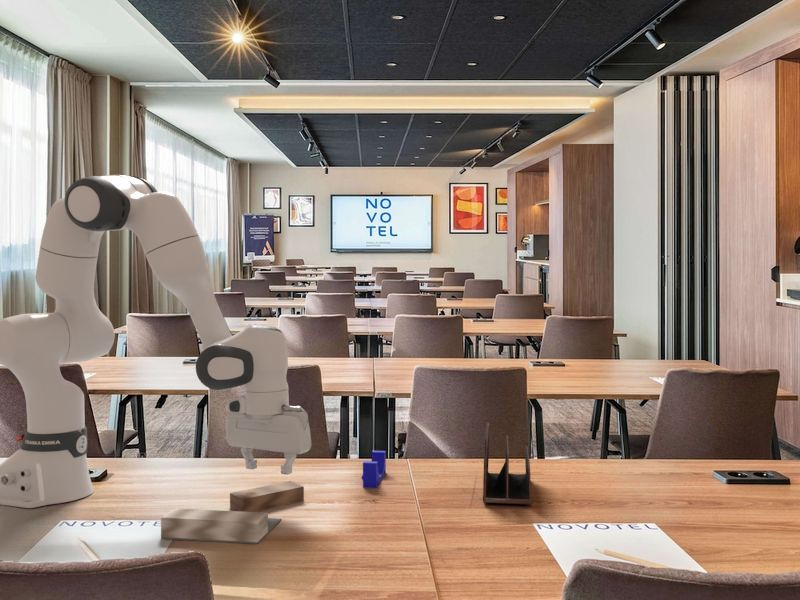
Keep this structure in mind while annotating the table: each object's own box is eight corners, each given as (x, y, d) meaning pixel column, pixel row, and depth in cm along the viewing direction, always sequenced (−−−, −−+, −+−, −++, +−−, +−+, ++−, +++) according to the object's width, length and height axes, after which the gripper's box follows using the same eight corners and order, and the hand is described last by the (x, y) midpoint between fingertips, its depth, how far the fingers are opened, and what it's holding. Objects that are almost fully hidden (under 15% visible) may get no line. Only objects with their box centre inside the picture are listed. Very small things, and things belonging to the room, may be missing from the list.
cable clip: (367, 475, 173) (366, 450, 173) (385, 476, 173) (385, 450, 172) (356, 489, 161) (356, 462, 161) (376, 490, 161) (376, 463, 161)
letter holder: (482, 503, 150) (482, 435, 150) (485, 478, 170) (484, 418, 170) (531, 505, 149) (531, 436, 149) (528, 479, 169) (528, 418, 168)
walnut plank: (242, 516, 143) (242, 499, 143) (230, 510, 148) (229, 493, 148) (303, 503, 152) (303, 486, 152) (290, 497, 156) (290, 481, 156)
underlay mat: (161, 538, 130) (161, 537, 130) (193, 515, 143) (193, 514, 143) (257, 543, 127) (257, 542, 127) (281, 520, 140) (281, 518, 140)
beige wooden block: (161, 537, 130) (160, 517, 130) (175, 527, 135) (175, 508, 135) (257, 542, 127) (257, 522, 127) (267, 531, 133) (267, 512, 132)
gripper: (317, 404, 146) (318, 473, 146) (241, 398, 157) (243, 462, 157) (296, 409, 141) (298, 480, 141) (220, 403, 151) (221, 469, 152)
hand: (268, 471), depth 149 cm, fingers open, 8 cm apart
